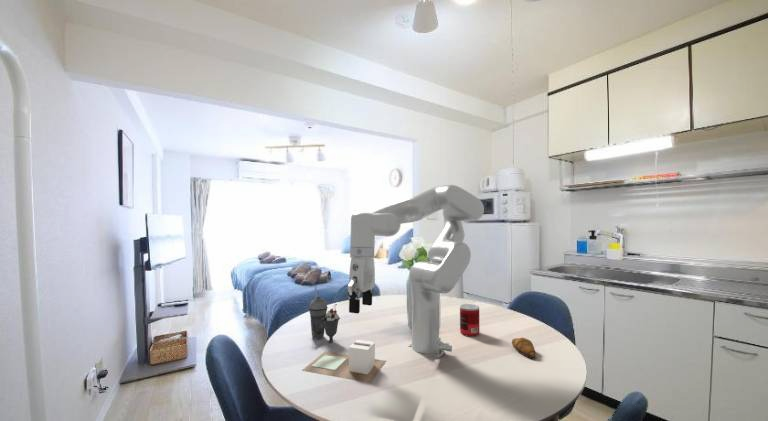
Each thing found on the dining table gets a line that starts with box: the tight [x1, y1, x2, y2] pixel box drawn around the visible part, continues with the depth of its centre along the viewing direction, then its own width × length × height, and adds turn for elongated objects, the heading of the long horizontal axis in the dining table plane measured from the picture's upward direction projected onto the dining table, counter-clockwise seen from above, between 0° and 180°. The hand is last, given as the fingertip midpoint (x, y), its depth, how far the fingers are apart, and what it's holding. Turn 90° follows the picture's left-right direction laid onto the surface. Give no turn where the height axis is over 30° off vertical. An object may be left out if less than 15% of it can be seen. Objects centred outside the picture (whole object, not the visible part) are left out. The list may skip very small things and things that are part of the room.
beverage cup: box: [308, 286, 328, 340], centre depth 121 cm, size 7×7×20 cm
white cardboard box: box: [348, 339, 376, 374], centre depth 92 cm, size 6×6×7 cm
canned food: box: [459, 303, 480, 337], centre depth 126 cm, size 8×8×11 cm
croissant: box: [511, 337, 536, 359], centre depth 108 cm, size 14×7×5 cm, turn 4°
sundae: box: [322, 303, 341, 344], centre depth 112 cm, size 7×7×15 cm
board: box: [301, 351, 387, 384], centre depth 94 cm, size 22×14×2 cm, turn 72°
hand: (360, 308), depth 93 cm, fingers open, 9 cm apart
